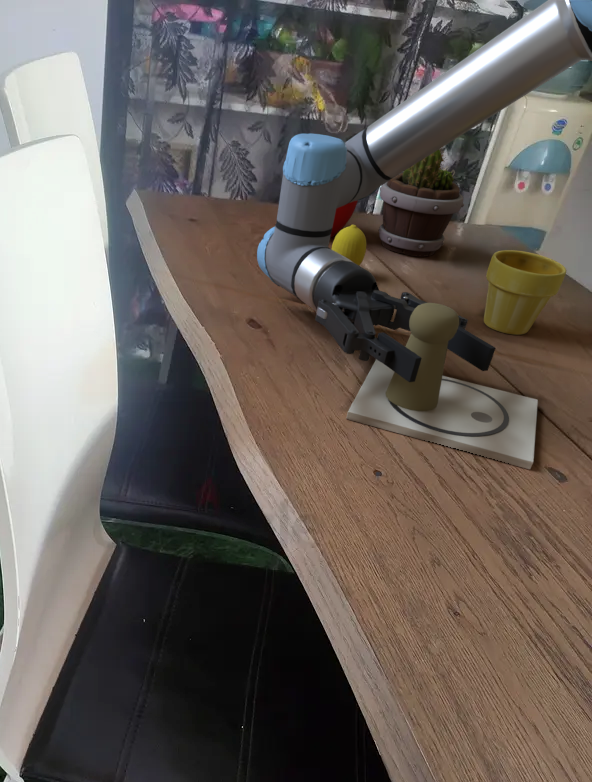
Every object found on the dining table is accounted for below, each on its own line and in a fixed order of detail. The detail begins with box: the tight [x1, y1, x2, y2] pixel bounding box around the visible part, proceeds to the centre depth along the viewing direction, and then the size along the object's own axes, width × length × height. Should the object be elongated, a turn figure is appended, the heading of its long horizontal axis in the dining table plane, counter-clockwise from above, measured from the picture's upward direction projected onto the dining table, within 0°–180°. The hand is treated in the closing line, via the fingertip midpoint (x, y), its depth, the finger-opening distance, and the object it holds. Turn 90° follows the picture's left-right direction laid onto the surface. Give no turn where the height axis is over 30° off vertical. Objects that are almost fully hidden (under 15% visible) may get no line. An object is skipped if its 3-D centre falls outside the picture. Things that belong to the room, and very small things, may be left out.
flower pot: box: [483, 249, 567, 336], centre depth 108 cm, size 10×10×10 cm
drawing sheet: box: [346, 359, 539, 470], centre depth 85 cm, size 20×16×1 cm
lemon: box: [330, 224, 367, 266], centre depth 120 cm, size 6×6×8 cm
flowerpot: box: [378, 149, 465, 257], centre depth 133 cm, size 14×15×20 cm
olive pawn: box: [386, 302, 459, 411], centre depth 82 cm, size 6×6×11 cm
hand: (453, 364), depth 79 cm, fingers open, 10 cm apart
